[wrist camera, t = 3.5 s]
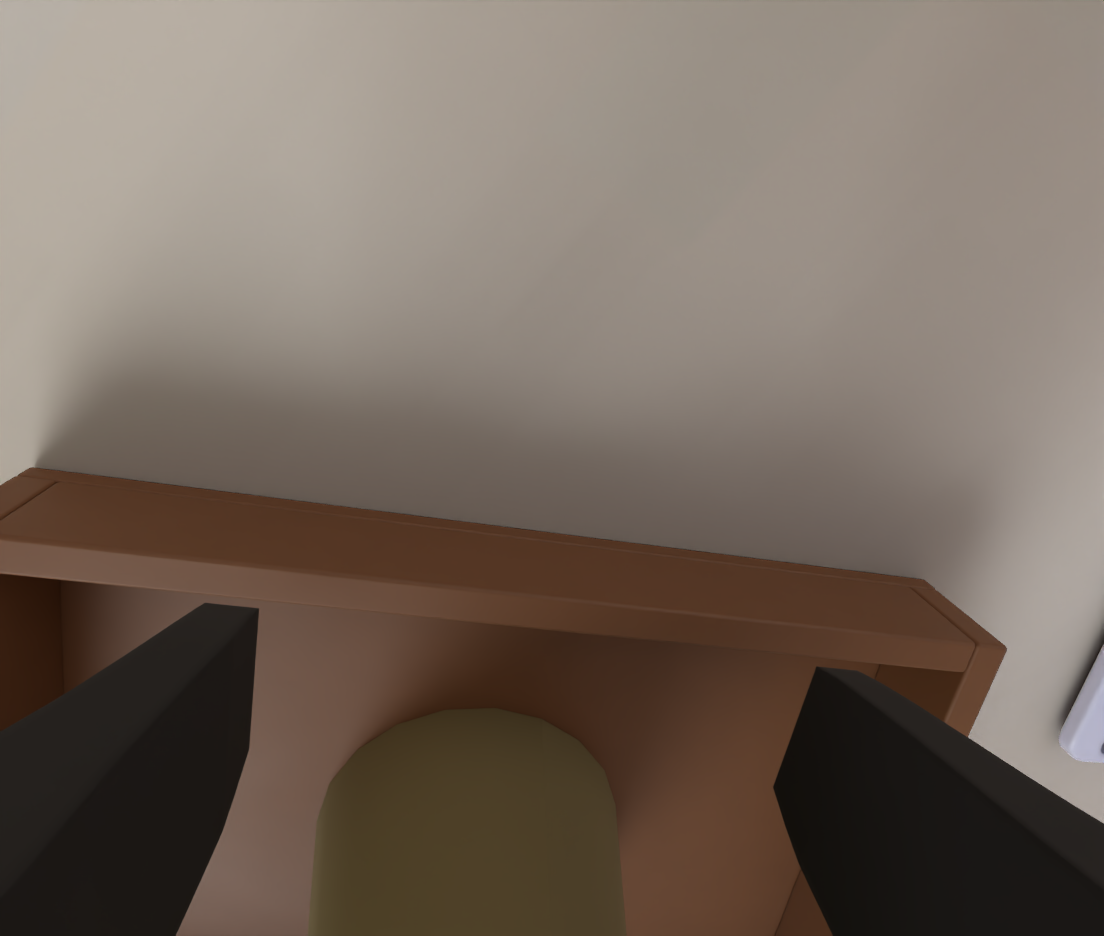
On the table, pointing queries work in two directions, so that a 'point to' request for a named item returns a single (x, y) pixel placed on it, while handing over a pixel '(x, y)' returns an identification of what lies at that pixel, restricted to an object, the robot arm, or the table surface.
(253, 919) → the tray
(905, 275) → the table surface
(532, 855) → the olive rounded cylinder
